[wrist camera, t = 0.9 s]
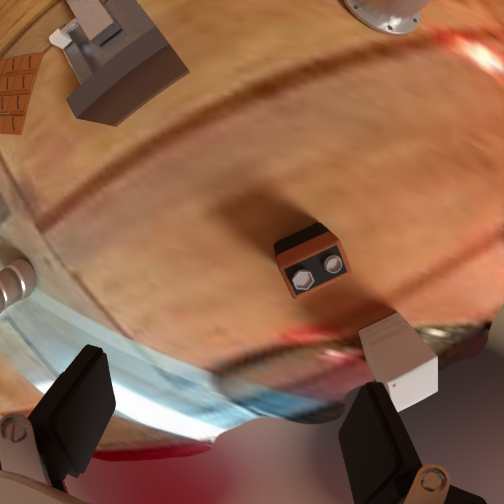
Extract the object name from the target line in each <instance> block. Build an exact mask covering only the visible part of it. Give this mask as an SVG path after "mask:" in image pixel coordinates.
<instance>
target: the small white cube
mask: <svg viewBox="0 0 504 504" xmlns="http://www.w3.org/2000/svg"><path fill="white" fill-rule="evenodd" d="M49 40H50V42H51V44H53V45H55V46H58V47H60V48H62V49H63V48H64V47H66V46H67V45H68V44H69V43H70V42H71V41H72V39H71V37H70V35H69V34H67V33H65V32H63V31H62V30H60V29H57V30H56V31H55V32H54V33H53V34H52V35H51V36H50V37H49Z"/></svg>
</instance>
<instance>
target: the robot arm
mask: <svg viewBox="0 0 504 504" xmlns="http://www.w3.org/2000/svg"><path fill="white" fill-rule="evenodd" d="M343 1H344V3H345V5H346V7H347V8H348V9H349V10H350V12H351V13H352V14H353V15H354V16H355V17H356V18H357V19H359V20H360V21H361V22H363V23H364V24H366V25H367V26H369V27H371V28H372V29H375V30H377V31H379V32H382V33H385V34H389V35H405V34H408V33H410V32H412V31H413V30H414V29H416V27H417V26H418V25H419V22H420V11H421V10H422V9H423V8H424V7H426V6H427V5H428V4H429V3H431V2H432V1H433V0H343ZM115 407H116V401H115V396H114V392H113V387H112V382H111V377H110V371H109V366H108V360H107V355H106V353H103V350H102V348H99V347H96V346H92V345H89V344H87V345H86V346H85V347H84V348H83V349H82V350H81V352H80V353H79V354H78V355H77V357H76V358H75V359H74V360H73V361H72V363H71V364H70V365H69V366H68V368H67V369H66V370H65V372H63V373H61V374H60V376H59V377H58V378H57V379H56V381H55V382H54V383H53V385H52V386H51V387H50V388H49V390H48V391H47V392H46V394H45V395H44V396H43V398H42V399H41V400H40V402H39V403H38V404H37V406H36V407H35V408H34V410H33V411H32V412H31V414H30V415H29V416H28V418H26V417H25V416H23V415H20V414H8V415H6V416H4V417H3V418H2V419H1V420H0V504H91V503H88V502H85V501H83V500H81V499H78V498H76V497H74V496H71V495H70V494H69V492H68V489H67V487H66V484H65V481H64V479H65V477H66V475H67V474H69V475H71V476H73V477H76V478H78V476H79V474H80V473H84V472H85V470H86V468H87V466H88V464H89V462H90V460H91V458H92V455H93V453H94V451H95V449H96V447H97V445H98V443H99V441H100V439H101V437H102V435H103V433H104V431H105V428H106V426H107V424H108V422H109V420H110V418H111V416H112V414H113V412H114V410H115ZM339 442H340V446H341V449H342V454H343V457H344V461H345V465H346V470H347V474H348V478H349V482H350V486H351V491H352V495H353V500H354V503H355V504H487V503H486V501H485V500H484V499H483V498H481V497H480V496H477V495H474V494H472V493H469V492H467V491H464V490H461V489H459V488H457V487H454V486H452V485H450V476H449V474H448V473H447V471H446V470H445V469H444V468H442V467H440V466H438V465H434V464H431V465H426V466H422V464H421V461H420V459H419V457H418V455H417V452H416V450H415V448H414V446H413V444H412V442H411V439H410V437H409V435H408V433H407V431H406V428H405V426H404V424H403V422H402V420H401V418H400V417H399V414H398V412H397V410H396V408H395V406H394V404H393V402H392V400H391V398H390V396H389V394H388V392H387V390H386V388H385V386H384V384H383V383H382V382H368V383H366V384H365V386H362V387H361V389H360V391H359V393H358V395H357V397H356V399H355V401H354V403H353V405H352V407H351V409H350V411H349V413H348V415H347V417H346V419H345V421H344V423H343V425H342V427H341V428H340V431H339Z"/></svg>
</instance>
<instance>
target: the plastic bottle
mask: <svg viewBox="0 0 504 504" xmlns="http://www.w3.org/2000/svg"><path fill="white" fill-rule="evenodd" d="M35 286H36V274H35V271H34V269H33V267H32V266H31V265H30V263H29V262H27V261H25V260H23V259H17V260H14V261H12V262H10V263H9V264H8V265H7V266H6V267H5V268H4V269H3V270H1V271H0V313H1V312H2V311H3V310H5V309H6V308H7V307H8V306H10V305H12V304H14V303H15V302H17V301H20V300H23V299H25V298H27V297H29V296H30V295H31V293H32V292H33V291H34V289H35Z"/></svg>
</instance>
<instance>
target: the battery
mask: <svg viewBox="0 0 504 504" xmlns="http://www.w3.org/2000/svg"><path fill="white" fill-rule="evenodd" d="M274 249H275V254H276V259H277V263H278V268H279V270H280V272H281V275H282V277H283V279H284V281H285V283H286V285H287V287H288V289H289V291H290V293H291V295H292V297H293V298H294V299H299V298H301V297H303V296H305V295H308V294H310V293H312V292H314V291H316V290H319V289H321V288H323V287H325V286H327V285H329V284H332V283H334V282H336V281H338V280H340V279H342V278H344V277H346V276H348V275H350V274H351V268H350V265H349V263H348V260H347V257H346V255H345V252H344V249H343V247H342V244H341V242H340V240H339V239H338V238H337V237H336V236H335V235H334V234H333V233H332V232H331V231H330V230H328V229H327V228H326V227H325V226H324V225H323V224H322V223H316V224H314V225H312V226H310V227H307V228H305V229H303V230H301V231H299V232H297V233H295V234H292V235H290V236H288V237H286V238H284V239H282V240H279V241H277V242H276V243H275V244H274Z"/></svg>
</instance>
